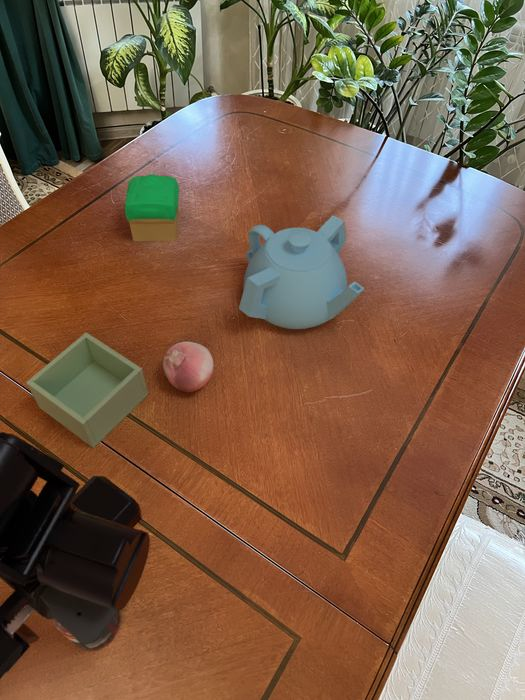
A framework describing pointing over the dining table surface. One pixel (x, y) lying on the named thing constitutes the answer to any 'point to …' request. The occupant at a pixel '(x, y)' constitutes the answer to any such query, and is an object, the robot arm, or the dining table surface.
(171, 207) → the cake
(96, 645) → the supplement bottle
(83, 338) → the waste bin
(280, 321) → the teapot
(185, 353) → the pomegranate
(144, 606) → the dining table surface
